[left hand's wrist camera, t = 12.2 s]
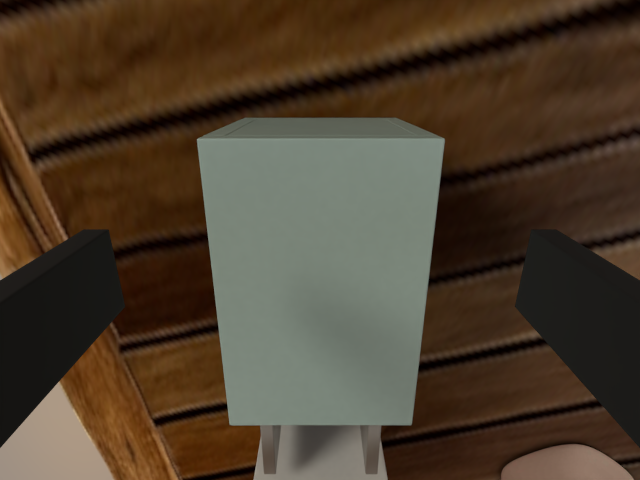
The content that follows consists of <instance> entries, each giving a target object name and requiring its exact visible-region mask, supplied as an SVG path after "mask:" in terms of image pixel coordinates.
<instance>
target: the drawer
mask: <svg viewBox="0 0 640 480" xmlns="http://www.w3.org/2000/svg"><path fill="white" fill-rule="evenodd" d="M260 429H261V439H260V445H259V451H258V457H257V463H256V469H255V475H254V480H388V479H387V473H386V467H385V461H384V456H383V450H382V444H381V438H380V435H381V425H260Z"/></svg>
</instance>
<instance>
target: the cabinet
mask: <svg viewBox="0 0 640 480" xmlns="http://www.w3.org/2000/svg"><path fill="white" fill-rule="evenodd" d="M444 143H445V139H444V138H442V137H439V136H437V135H435V134H433V133H430V132H428V131H426V130H423V129H421V128H419V127H416V126H414V125H412V124H409V123H407V122H405V121H402V120H400V119H398V118H244V119H241V120H239V121H237V122H234V123H232V124H230V125H227V126H225V127H223V128H220V129H218V130H216V131H213V132H211V133H209V134H207V135H204V136H203V137H200V138H198V139H197V144H198V153H199V161H200V170H201V179H202V187H203V196H204V205H205V214H206V222H207V231H208V240H209V248H210V257H211V266H212V275H213V283H214V292H215V301H216V309H217V318H218V327H219V335H220V344H221V353H222V362H223V370H224V379H225V388H226V396H227V405H228V414H229V422H230V425H412V419H413V410H414V401H415V393H416V384H417V376H418V367H419V358H420V350H421V341H422V333H423V324H424V315H425V307H426V298H427V289H428V281H429V272H430V264H431V255H432V246H433V238H434V229H435V221H436V212H437V203H438V195H439V186H440V178H441V169H442V160H443V152H444Z"/></svg>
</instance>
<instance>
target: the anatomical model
mask: <svg viewBox="0 0 640 480" xmlns="http://www.w3.org/2000/svg"><path fill="white" fill-rule="evenodd" d="M501 480H634V479H633V478H632V476H631V475H630V474H629V473H628V472H627V471H626V470H625V469H624V468H623V467H622V466H620V465H619V464H618V463H617V462H615V461H614V460H612V459H611V458H609V457H608V456H606V455H605V454H603V453H601V452H600V451H598V450H596V449H594V448H591V447H588V446H585V445H580V444H565V445H558V446H553V447H549V448H545V449H542V450H539V451H536V452H533V453H530V454H527V455H525V456H522V457H520V458H518V459H515V460H513V461H512V462H510V463H509V464H507V465H506V466H505V467H504V468H503V470H502V473H501Z"/></svg>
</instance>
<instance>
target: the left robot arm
mask: <svg viewBox="0 0 640 480" xmlns="http://www.w3.org/2000/svg"><path fill="white" fill-rule="evenodd" d="M124 307H125V304H124V300H123V295H122V290H121V286H120V281H119V276H118V272H117V267H116V262H115V258H114V253H113V248H112V244H111V239H110V234H109V230H82V231H81V232H79V233H77V234H76V235H74V236H73V237H71V238H69V239H68V240H66V241H64V242H63V243H61V244H59V245H58V246H56V247H54V248H53V249H51V250H50V251H48V252H46V253H45V254H43V255H41V256H40V257H38V258H36V259H35V260H33V261H31V262H30V263H28V264H27V265H25V266H23V267H22V268H20V269H18V270H17V271H15V272H13V273H12V274H10V275H8V276H7V277H5V278H4V279H2V280H0V447H1V446H2V445H3V444H4V443H5V442H6V441H7V440H8V438H9V437H10V436H11V435H12V434H13V433H14V432H15V431H16V429H17V428H18V427H19V426H20V425H21V424H22V423H23V421H24V420H25V419H26V418H27V417H28V416H29V415H30V413H31V412H32V411H33V410H34V409H35V408H36V407H37V406H38V404H39V403H40V402H41V401H42V400H43V399H44V398H45V397H46V395H47V394H48V393H49V392H50V391H51V390H52V389H53V388H54V386H55V385H56V384H57V383H58V382H59V381H60V380H61V378H62V377H63V376H64V375H65V374H66V373H67V372H68V371H69V369H70V368H71V367H72V366H73V365H74V364H75V363H76V361H77V360H78V359H79V358H80V357H81V356H82V355H83V354H84V352H85V351H86V350H87V349H88V348H89V347H90V346H91V344H92V343H93V342H94V341H95V340H96V339H97V338H98V337H99V335H100V334H101V333H102V332H103V331H104V330H105V329H106V328H107V326H108V325H109V324H110V323H111V322H112V321H113V320H114V318H115V317H116V316H117V315H118V314H119V313H120V312H121V311H122V309H123V308H124ZM515 307H516V308H517V309H518V311H519V312H520V313H521V314H522V315H523V316H524V317H525V318H526V320H527V321H528V322H529V323H530V324H531V325H532V326H533V328H534V329H535V330H536V331H537V332H538V333H539V334H540V335H541V337H542V338H543V339H544V340H545V341H546V342H547V343H548V344H549V346H550V347H551V348H552V349H553V350H554V351H555V352H556V354H557V355H558V356H559V357H560V358H561V359H562V360H563V361H564V363H565V364H566V365H567V366H568V367H569V368H570V369H571V371H572V372H573V373H574V374H575V375H576V376H577V377H578V378H579V380H580V381H581V382H582V383H583V384H584V385H585V386H586V388H587V389H588V390H589V391H590V392H591V393H592V394H593V395H594V397H595V398H596V399H597V400H598V401H599V402H600V403H601V404H602V406H603V407H604V408H605V409H606V410H607V411H608V412H609V414H610V415H611V416H612V417H613V418H614V419H615V420H616V421H617V423H618V424H619V425H620V426H621V427H622V428H623V429H624V431H625V432H626V433H627V434H628V435H629V436H630V437H631V438H632V440H633V441H634V442H635V443H636V444H637V445H638V446H639V448H640V280H638V279H636V278H635V277H633V276H632V275H630V274H628V273H627V272H625V271H623V270H622V269H620V268H618V267H617V266H615V265H613V264H612V263H610V262H609V261H607V260H605V259H604V258H602V257H600V256H599V255H597V254H595V253H594V252H592V251H590V250H589V249H587V248H586V247H584V246H582V245H581V244H579V243H577V242H576V241H574V240H572V239H571V238H569V237H567V236H566V235H564V234H563V233H561V232H559V231H558V230H531V234H530V239H529V244H528V248H527V253H526V258H525V262H524V267H523V272H522V276H521V281H520V286H519V290H518V295H517V300H516V304H515Z"/></svg>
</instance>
